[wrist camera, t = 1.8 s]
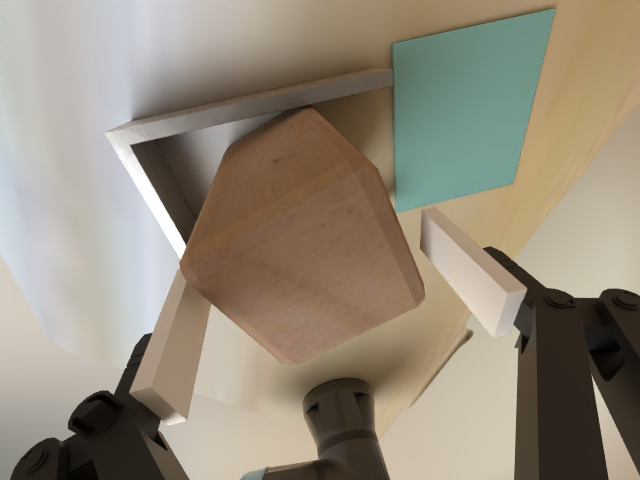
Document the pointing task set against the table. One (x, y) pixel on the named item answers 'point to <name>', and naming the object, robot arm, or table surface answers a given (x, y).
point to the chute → (146, 157)
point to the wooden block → (300, 240)
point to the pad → (464, 107)
